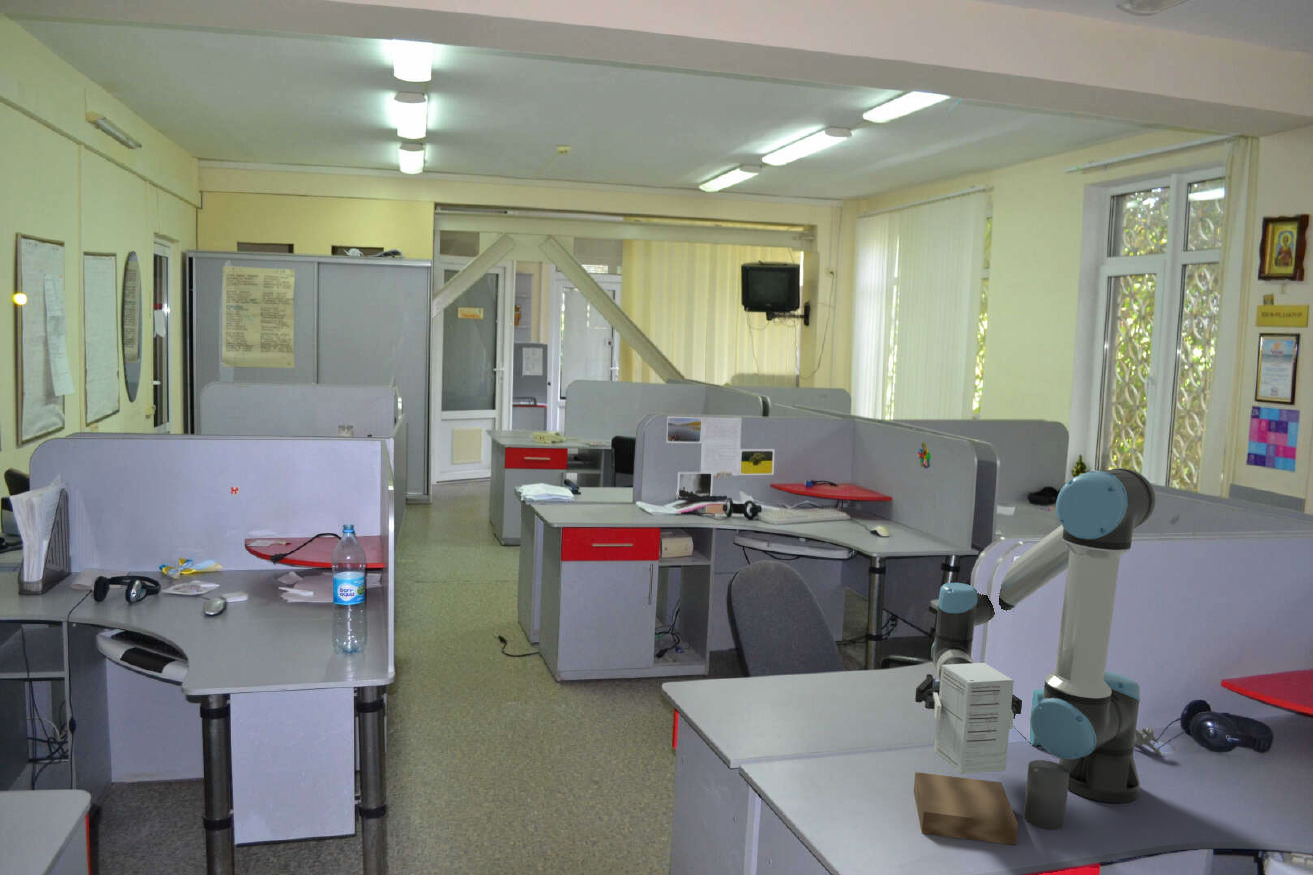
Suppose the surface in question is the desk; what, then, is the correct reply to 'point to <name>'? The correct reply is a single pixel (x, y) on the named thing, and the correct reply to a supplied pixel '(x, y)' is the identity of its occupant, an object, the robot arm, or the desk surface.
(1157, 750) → the pale grey branched piece
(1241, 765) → the desk surface
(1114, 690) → the robot arm
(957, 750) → the supplement box
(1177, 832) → the desk surface
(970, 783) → the podium
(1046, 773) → the dark grey cylinder
